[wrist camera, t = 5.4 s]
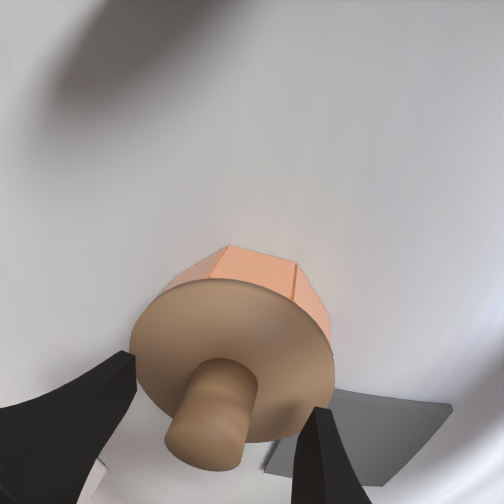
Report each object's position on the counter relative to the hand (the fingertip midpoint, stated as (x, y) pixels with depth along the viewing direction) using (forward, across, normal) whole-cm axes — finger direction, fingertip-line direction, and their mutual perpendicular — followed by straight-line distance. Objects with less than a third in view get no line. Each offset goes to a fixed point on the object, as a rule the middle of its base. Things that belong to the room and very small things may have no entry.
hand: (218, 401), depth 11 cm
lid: (+2, 0, 0) cm, 2 cm away
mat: (+5, -9, +8) cm, 13 cm away
